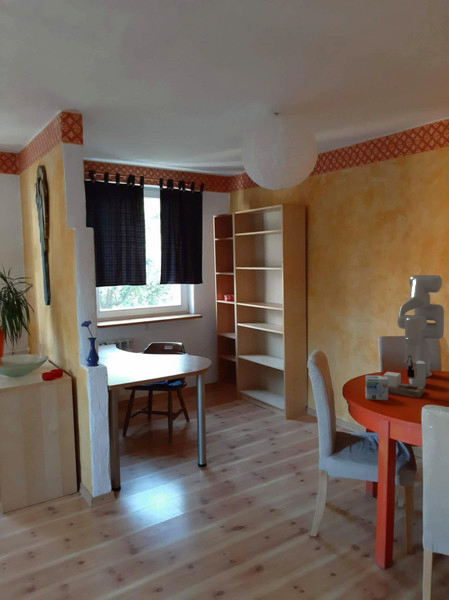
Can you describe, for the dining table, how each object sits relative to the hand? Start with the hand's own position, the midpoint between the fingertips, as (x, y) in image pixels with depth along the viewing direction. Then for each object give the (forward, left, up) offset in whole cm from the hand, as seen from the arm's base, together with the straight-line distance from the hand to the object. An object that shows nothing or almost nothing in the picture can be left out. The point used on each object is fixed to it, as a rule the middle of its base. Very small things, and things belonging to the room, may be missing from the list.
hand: (411, 375), depth 238 cm
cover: (0, -10, -6) cm, 12 cm away
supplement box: (-19, -2, -10) cm, 22 cm away
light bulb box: (+16, -13, -10) cm, 23 cm away
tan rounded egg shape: (0, 0, -1) cm, 1 cm away
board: (0, -5, -9) cm, 11 cm away
